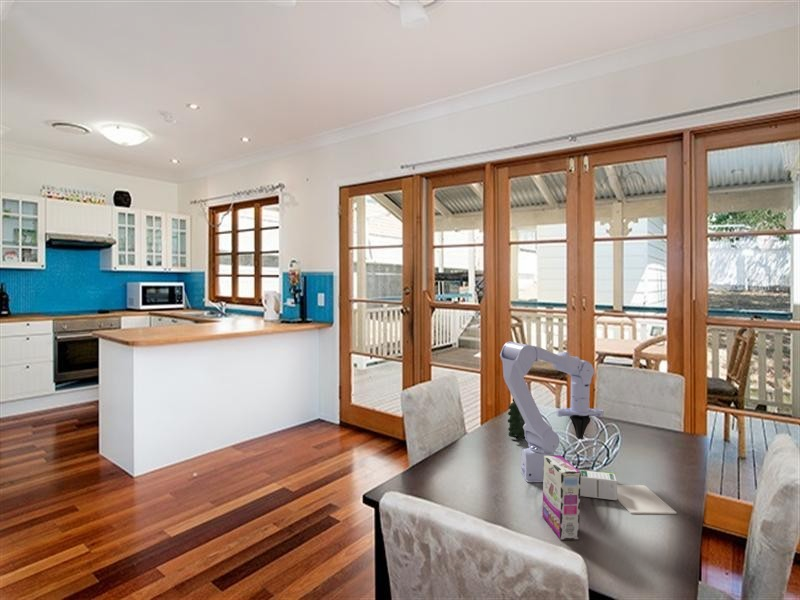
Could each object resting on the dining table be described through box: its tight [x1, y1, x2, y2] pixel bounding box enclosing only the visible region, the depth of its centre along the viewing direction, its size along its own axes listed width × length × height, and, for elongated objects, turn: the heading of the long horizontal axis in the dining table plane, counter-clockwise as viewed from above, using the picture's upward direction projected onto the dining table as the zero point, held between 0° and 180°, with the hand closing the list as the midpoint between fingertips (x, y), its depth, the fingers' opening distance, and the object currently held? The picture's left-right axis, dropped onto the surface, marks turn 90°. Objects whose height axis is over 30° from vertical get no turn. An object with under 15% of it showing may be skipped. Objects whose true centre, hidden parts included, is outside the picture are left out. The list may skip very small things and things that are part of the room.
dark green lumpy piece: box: [507, 398, 525, 439], centre depth 181 cm, size 9×19×25 cm
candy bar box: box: [542, 454, 581, 541], centre depth 112 cm, size 11×5×16 cm, turn 5°
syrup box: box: [576, 468, 618, 501], centre depth 130 cm, size 6×6×14 cm
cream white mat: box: [616, 484, 678, 515], centre depth 127 cm, size 12×16×1 cm
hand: (579, 437), depth 147 cm, fingers closed
